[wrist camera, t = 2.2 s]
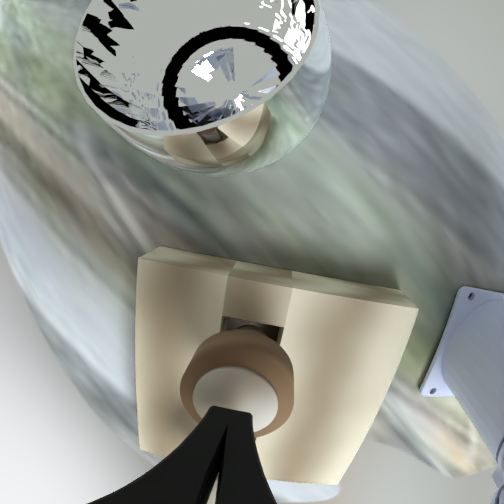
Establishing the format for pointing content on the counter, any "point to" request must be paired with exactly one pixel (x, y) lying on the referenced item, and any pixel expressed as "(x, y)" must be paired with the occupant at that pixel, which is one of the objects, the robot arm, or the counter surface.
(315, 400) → the knob panel
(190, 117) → the wineglass
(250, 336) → the knob
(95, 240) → the counter surface
